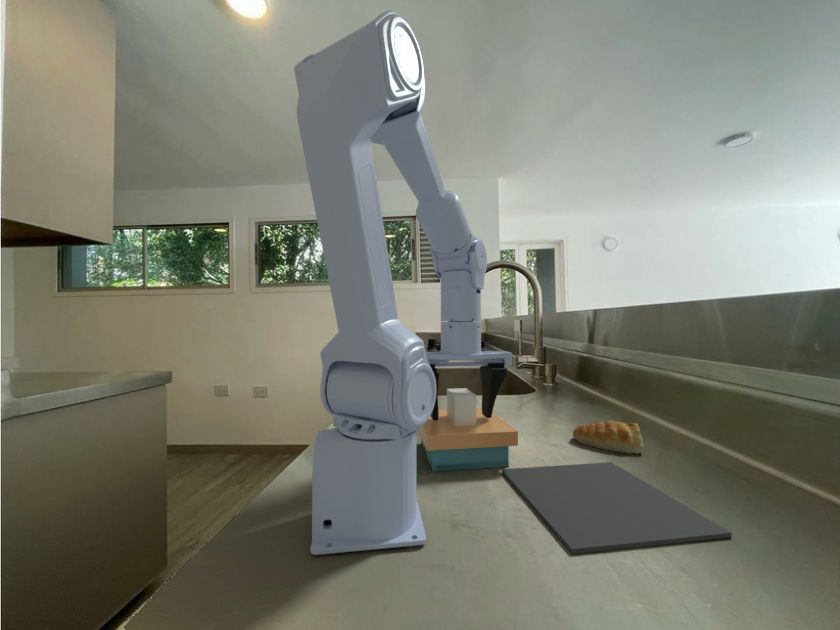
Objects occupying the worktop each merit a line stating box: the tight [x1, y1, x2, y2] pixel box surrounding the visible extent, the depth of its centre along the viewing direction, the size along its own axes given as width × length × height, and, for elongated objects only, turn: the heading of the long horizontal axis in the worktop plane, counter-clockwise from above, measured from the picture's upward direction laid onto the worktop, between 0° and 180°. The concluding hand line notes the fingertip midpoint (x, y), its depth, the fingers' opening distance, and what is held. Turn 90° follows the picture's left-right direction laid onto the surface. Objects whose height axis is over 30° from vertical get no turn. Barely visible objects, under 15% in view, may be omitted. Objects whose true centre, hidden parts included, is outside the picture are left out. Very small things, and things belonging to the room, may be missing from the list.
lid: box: [417, 387, 519, 451], centre depth 48 cm, size 12×12×6 cm
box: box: [420, 437, 510, 473], centre depth 48 cm, size 10×10×4 cm
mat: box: [501, 461, 733, 555], centre depth 36 cm, size 15×15×1 cm
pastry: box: [572, 420, 645, 455], centre depth 52 cm, size 9×7×4 cm
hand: (460, 417), depth 48 cm, fingers open, 7 cm apart
